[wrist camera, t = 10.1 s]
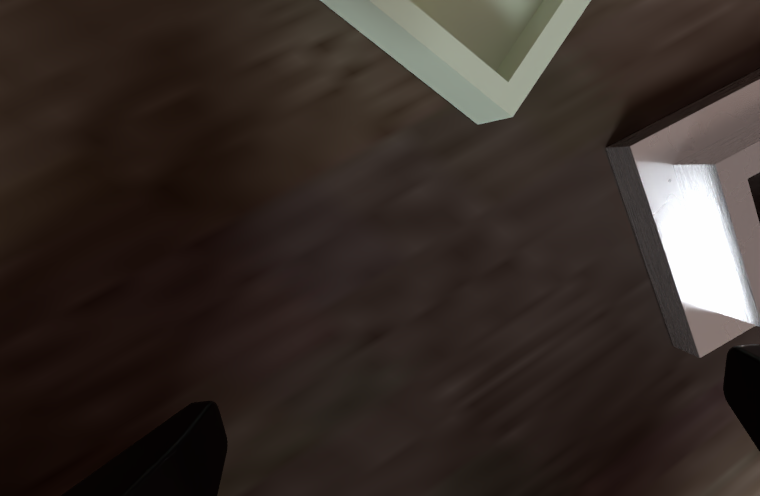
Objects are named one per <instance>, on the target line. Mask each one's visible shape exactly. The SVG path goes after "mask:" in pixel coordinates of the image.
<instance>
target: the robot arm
mask: <svg viewBox="0 0 760 496" xmlns="http://www.w3.org/2000/svg"><path fill="white" fill-rule="evenodd" d="M723 390H724V395H725V398H726V400H727V402H728V404H729V406H730V407H731V409H732V410H733V412H734V413H735V415H736V416H737V418H738V419H739V421H740V422H741V424H742V425H743V427H744V428H745V430H746V431H747V433H748V434H749V436H750V437H751V439H752V441H753V442H754V444H755V445H756V447H757V448H758V450H759V451H760V345H758V344H751V345H742V346H734V347H732V348H731V349H730V350H729V351H728V353H727V359H726V368H725V376H724V385H723ZM226 453H227V436H226V433H225V429H224V426H223V422H222V419H221V415H220V412H219V409H218V406H217V404H216V403H215V402H213V401H204V402H194V403H191V404H189V405H188V406H186V407H185V408H184V409H182V410H181V411H179V412H178V413H177V414H175V415H174V416H172V417H171V418H170V419H168V420H167V421H165V422H164V423H163V424H161V425H160V426H158V427H157V428H156V429H154V430H153V431H151V432H150V433H149V434H147V435H146V436H144V437H143V438H141V439H140V440H139V441H137V442H136V443H134V444H133V445H132V446H130V447H129V448H127V449H126V450H125V451H123V452H122V453H120V454H119V455H118V456H116V457H115V458H113V459H112V460H111V461H109V462H108V463H106V464H105V465H104V466H102V467H101V468H99V469H98V470H97V471H95V472H94V473H92V474H91V475H90V476H88V477H87V478H85V479H84V480H83V481H81V482H80V483H78V484H77V485H76V486H74V487H73V488H71V489H70V490H69V491H67V492H66V493H64V494H63V495H61V496H217V494H218V489H219V485H220V480H221V476H222V471H223V467H224V462H225V458H226Z"/></svg>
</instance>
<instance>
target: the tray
mask: <svg viewBox="0 0 760 496" xmlns="http://www.w3.org/2000/svg"><path fill="white" fill-rule="evenodd" d="M320 1H322V2H323V3H324V4H325V5H327V6H328V7H329V8H330V9H332V10H333V11H334V12H336V13H337V14H338V15H339V16H341V17H342V18H343V19H344V20H346V21H347V22H348V23H349V24H351V25H352V26H353V27H355V28H356V29H357V30H358V31H360V32H361V33H362V34H363V35H365V36H366V37H367V38H369V39H370V40H371V41H372V42H374V43H375V44H376V45H377V46H379V47H380V48H381V49H382V50H384V51H385V52H386V53H388V54H389V55H390V56H391V57H393V58H394V59H395V60H396V61H398V62H399V63H400V64H401V65H403V66H404V67H405V68H407V69H408V70H409V71H410V72H412V73H413V74H414V75H415V76H417V77H418V78H419V79H421V80H422V81H423V82H424V83H426V84H427V85H428V86H429V87H431V88H432V89H433V90H434V91H436V92H437V93H438V94H440V95H441V96H442V97H443V98H445V99H446V100H447V101H448V102H450V103H451V104H452V105H454V106H455V107H456V108H457V109H459V110H460V111H461V112H462V113H464V114H465V115H466V116H467V117H469V118H470V119H471V120H473V121H474V122H475V123H476V124H483V123H487V122H492V121H497V120H501V119H506V118H510V117H513V116H514V114H515V113H516V111H517V110H518V108H519V107H520V105H521V104H522V102H523V101H524V99H525V98H526V96H527V95H528V93H529V92H530V90H531V89H532V87H533V86H534V84H535V83H536V81H537V80H538V78H539V77H540V75H541V74H542V73H543V71H544V70H545V68H546V67H547V65H548V64H549V62H550V61H551V59H552V58H553V56H554V55H555V53H556V52H557V50H558V49H559V47H560V46H561V44H562V43H563V41H564V40H565V38H566V37H567V35H568V34H569V32H570V31H571V29H572V28H573V26H574V25H575V23H576V22H577V20H578V19H579V17H580V16H581V14H582V13H583V11H584V10H585V8H586V7H587V5H588V4H589V3H590V1H591V0H320Z"/></svg>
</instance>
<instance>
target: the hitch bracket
mask: <svg viewBox="0 0 760 496" xmlns="http://www.w3.org/2000/svg"><path fill="white" fill-rule="evenodd" d="M606 151H607V154H608V157H609V160H610V162H611V165H612V168H613V171H614V174H615V177H616V180H617V183H618V186H619V189H620V192H621V195H622V197H623V200H624V203H625V206H626V209H627V212H628V215H629V218H630V221H631V224H632V227H633V230H634V233H635V235H636V238H637V241H638V244H639V247H640V250H641V253H642V256H643V259H644V262H645V265H646V268H647V270H648V273H649V276H650V279H651V282H652V285H653V288H654V291H655V294H656V297H657V300H658V303H659V306H660V308H661V311H662V314H663V317H664V320H665V323H666V326H667V329H668V332H669V335H670V338H671V341H672V343H673V346H674V347H677V348H679V349H681V350H683V351H686V352H688V353H690V354H692V355H694V356H697V357H699V358H701V357H702V356H704V355H706V354H708V353H709V352H711V351H713V350H714V349H716V348H718V347H720V346H721V345H723V344H725V343H726V342H728V341H730V340H732V339H733V338H735V337H737V336H738V335H740V334H742V333H744V332H745V331H747V330H749V329H750V328H752V327H754V326H755V325H757V326H760V223H759V219H758V216H757V212H756V208H755V205H754V201H753V197H752V194H751V190H750V186H749V183H748V178H750V177H752V176H754V175H755V174H757V173H759V172H760V68H759V69H757V70H756V71H754V72H752V73H750V74H748V75H746V76H744V77H742V78H740V79H738V80H736V81H734V82H732V83H730V84H728V85H726V86H724V87H723V88H721V89H719V90H717V91H715V92H713V93H711V94H709V95H707V96H705V97H703V98H701V99H699V100H697V101H695V102H693V103H691V104H690V105H688V106H686V107H684V108H682V109H680V110H678V111H676V112H674V113H672V114H670V115H668V116H666V117H664V118H662V119H660V120H659V121H657V122H655V123H653V124H651V125H649V126H647V127H645V128H643V129H641V130H639V131H637V132H635V133H633V134H631V135H629V136H627V137H626V138H624V139H622V140H620V141H618V142H616V143H614V144H612V145H610V146H608V147H606Z"/></svg>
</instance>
